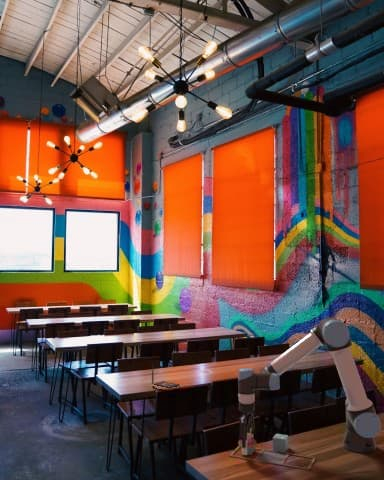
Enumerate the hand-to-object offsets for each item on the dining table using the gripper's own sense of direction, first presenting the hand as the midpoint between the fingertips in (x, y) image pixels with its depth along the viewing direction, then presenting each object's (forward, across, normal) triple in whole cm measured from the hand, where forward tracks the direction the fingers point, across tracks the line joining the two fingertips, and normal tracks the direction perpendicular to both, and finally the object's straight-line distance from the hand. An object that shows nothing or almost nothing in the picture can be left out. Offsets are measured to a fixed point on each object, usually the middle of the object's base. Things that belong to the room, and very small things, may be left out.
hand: (247, 451), depth 220 cm
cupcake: (+1, 0, 0) cm, 1 cm away
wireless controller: (+1, -90, -95) cm, 130 cm away
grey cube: (+1, -11, +13) cm, 17 cm away
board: (+1, 0, +12) cm, 12 cm away
